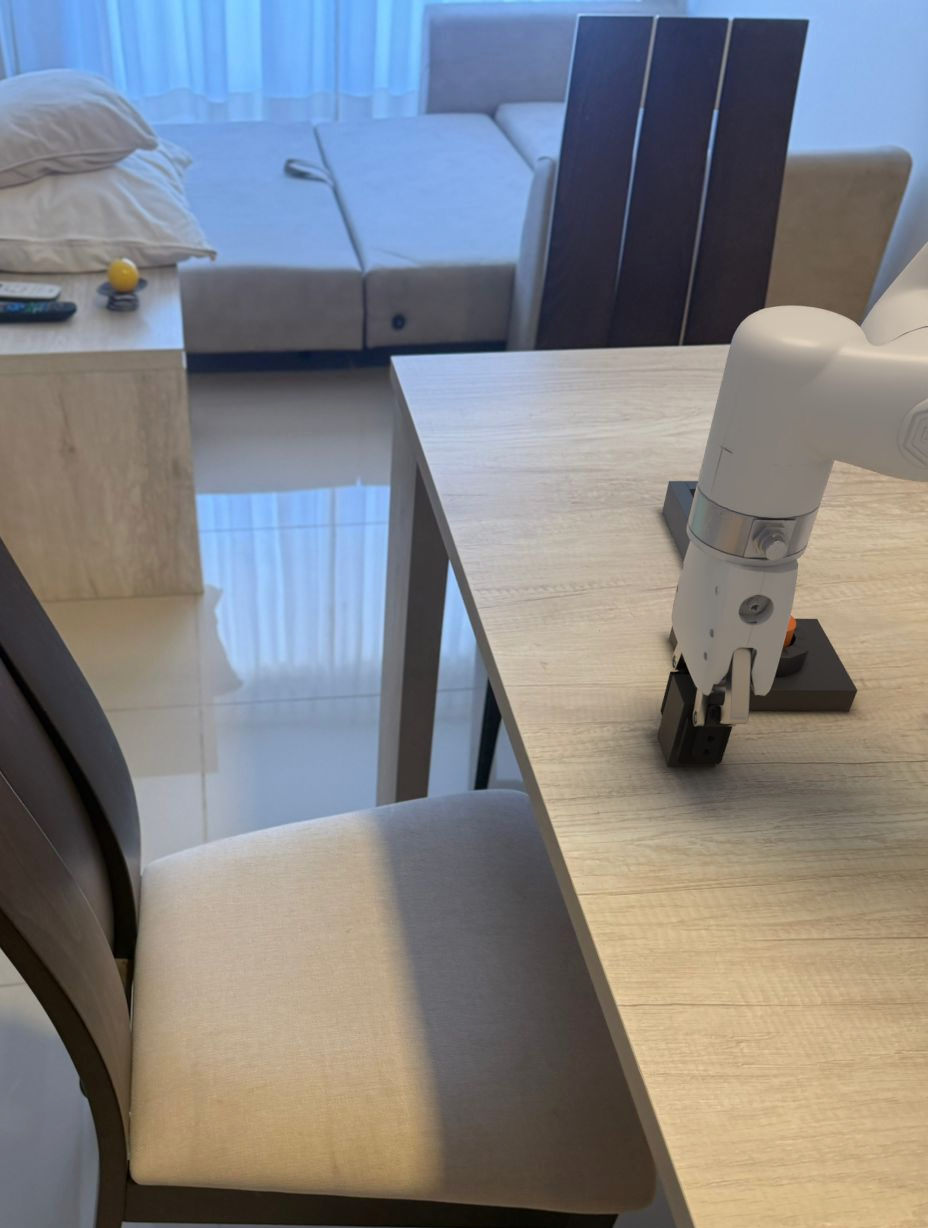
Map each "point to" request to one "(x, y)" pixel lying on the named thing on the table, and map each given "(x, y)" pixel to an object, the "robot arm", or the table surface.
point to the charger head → (680, 716)
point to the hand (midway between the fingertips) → (689, 736)
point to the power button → (789, 632)
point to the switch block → (805, 675)
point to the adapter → (679, 511)
